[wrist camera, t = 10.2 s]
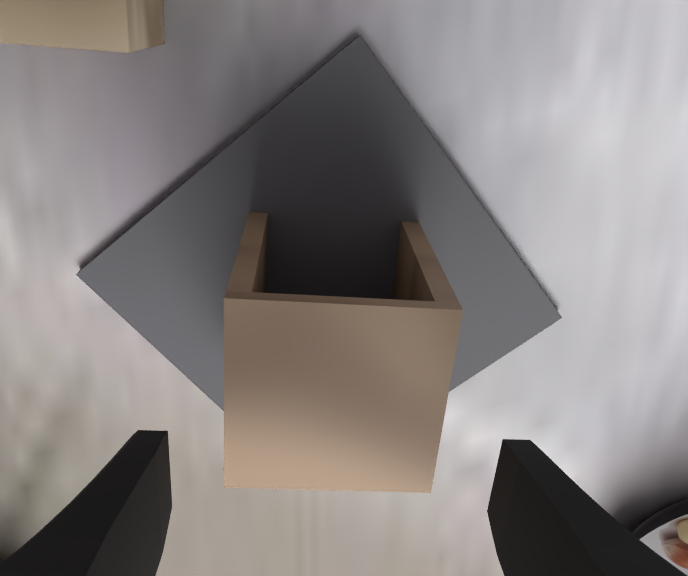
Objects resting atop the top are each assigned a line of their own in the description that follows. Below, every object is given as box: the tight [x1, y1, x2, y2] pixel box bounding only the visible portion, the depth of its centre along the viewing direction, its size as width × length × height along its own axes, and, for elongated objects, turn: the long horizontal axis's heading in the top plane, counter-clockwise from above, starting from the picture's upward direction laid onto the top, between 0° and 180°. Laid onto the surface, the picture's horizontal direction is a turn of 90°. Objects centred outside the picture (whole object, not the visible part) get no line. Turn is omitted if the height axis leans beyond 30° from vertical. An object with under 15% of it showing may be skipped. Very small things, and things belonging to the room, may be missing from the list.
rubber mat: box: [76, 35, 562, 411], centre depth 22 cm, size 12×12×1 cm
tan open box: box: [224, 212, 463, 493], centre depth 19 cm, size 6×6×6 cm
